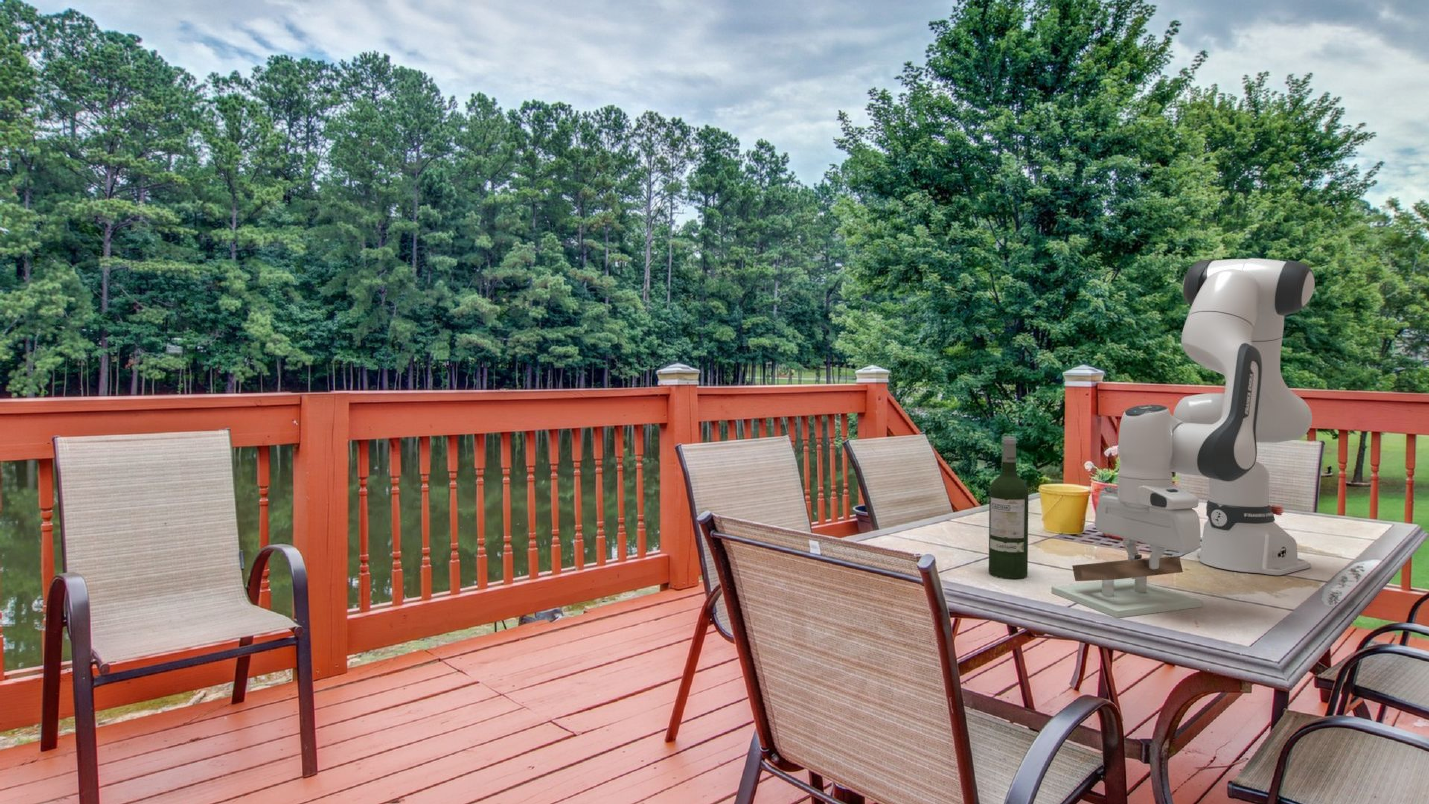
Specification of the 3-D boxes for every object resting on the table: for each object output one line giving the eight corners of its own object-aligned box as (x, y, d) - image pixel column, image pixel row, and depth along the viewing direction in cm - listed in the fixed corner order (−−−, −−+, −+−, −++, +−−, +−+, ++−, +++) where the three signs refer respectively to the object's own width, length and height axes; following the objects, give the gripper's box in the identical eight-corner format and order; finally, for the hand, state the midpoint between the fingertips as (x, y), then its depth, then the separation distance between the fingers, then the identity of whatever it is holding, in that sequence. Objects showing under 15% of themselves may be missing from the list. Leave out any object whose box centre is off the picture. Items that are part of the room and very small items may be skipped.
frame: (1139, 574, 149) (1136, 559, 149) (1182, 572, 139) (1179, 556, 140) (1075, 581, 144) (1072, 565, 145) (1115, 579, 135) (1112, 562, 135)
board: (1130, 583, 153) (1130, 558, 153) (1201, 606, 138) (1202, 579, 138) (1051, 592, 147) (1051, 566, 147) (1117, 617, 132) (1117, 589, 132)
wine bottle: (990, 578, 158) (991, 438, 157) (987, 568, 166) (988, 435, 165) (1030, 580, 156) (1031, 438, 155) (1025, 570, 164) (1026, 435, 163)
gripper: (1087, 485, 147) (1086, 554, 147) (1180, 501, 127) (1178, 581, 128) (1112, 483, 149) (1111, 551, 149) (1207, 499, 129) (1206, 578, 130)
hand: (1143, 565), depth 138 cm, fingers closed on frame, 2 cm apart
